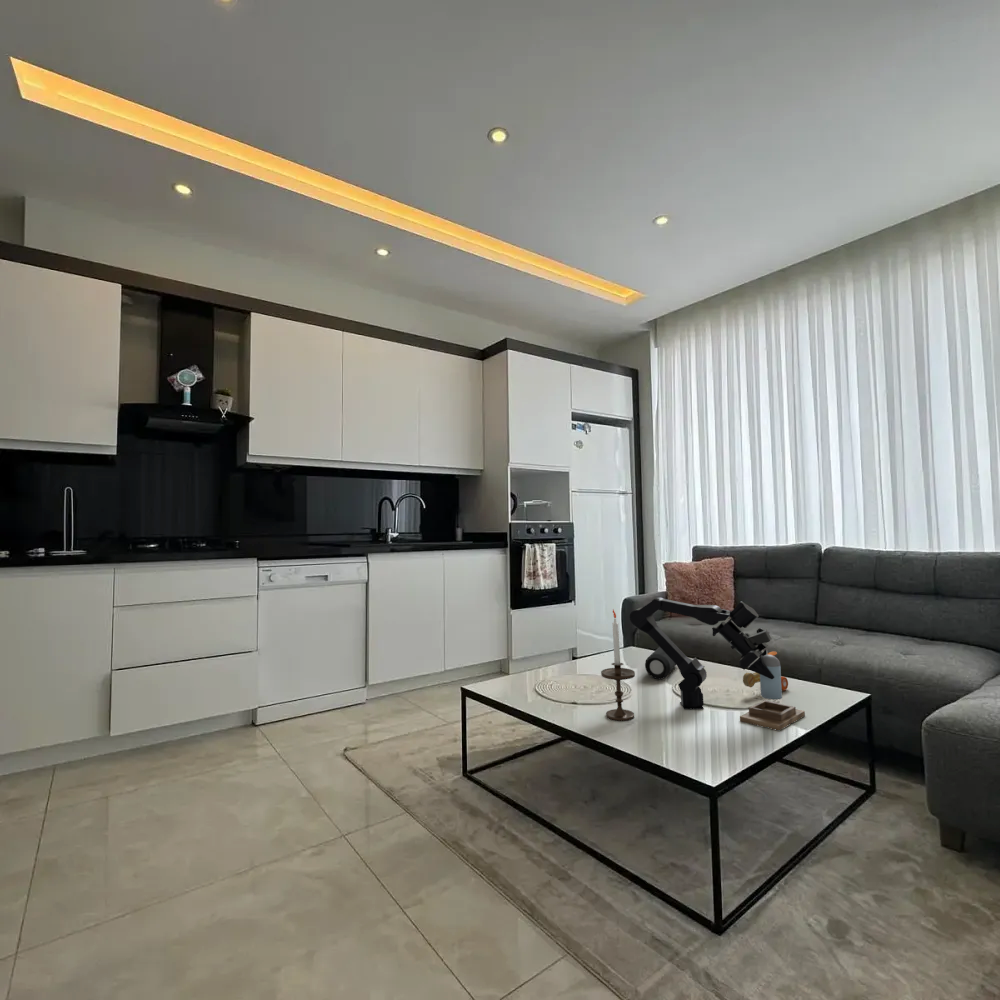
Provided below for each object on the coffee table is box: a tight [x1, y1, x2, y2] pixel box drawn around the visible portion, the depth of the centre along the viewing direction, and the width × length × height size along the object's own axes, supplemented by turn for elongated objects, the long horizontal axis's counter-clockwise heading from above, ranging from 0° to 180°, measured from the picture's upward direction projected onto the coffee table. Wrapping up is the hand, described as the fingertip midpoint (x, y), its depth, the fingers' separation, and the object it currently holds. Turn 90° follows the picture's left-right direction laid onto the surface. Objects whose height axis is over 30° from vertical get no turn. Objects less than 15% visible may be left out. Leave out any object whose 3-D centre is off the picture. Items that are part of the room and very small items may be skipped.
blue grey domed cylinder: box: [759, 655, 783, 700], centre depth 175 cm, size 6×6×13 cm
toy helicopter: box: [742, 650, 789, 692], centre depth 201 cm, size 8×21×14 cm, turn 123°
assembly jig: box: [739, 699, 806, 731], centre depth 175 cm, size 18×12×4 cm, turn 129°
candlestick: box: [600, 608, 636, 722], centre depth 183 cm, size 11×11×35 cm
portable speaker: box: [644, 646, 677, 680], centre depth 233 cm, size 26×10×10 cm, turn 151°
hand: (775, 675), depth 174 cm, fingers closed on blue grey domed cylinder, 6 cm apart
